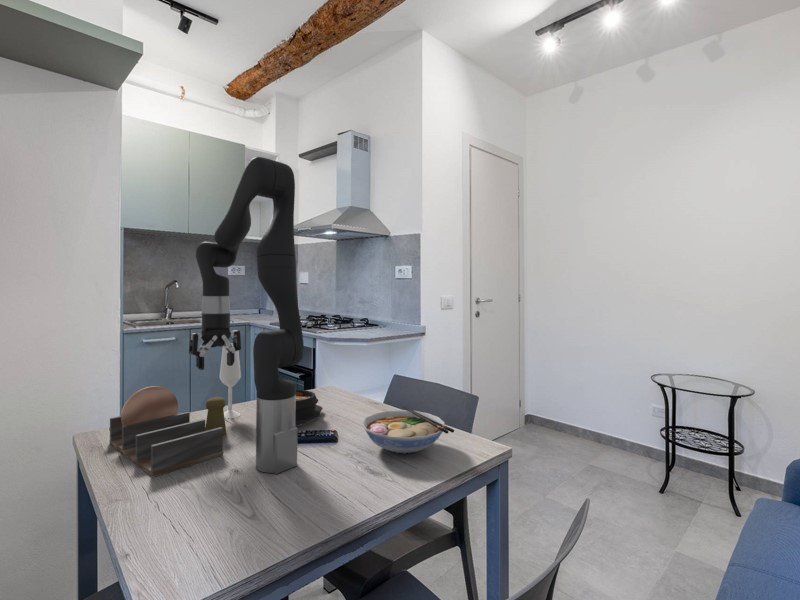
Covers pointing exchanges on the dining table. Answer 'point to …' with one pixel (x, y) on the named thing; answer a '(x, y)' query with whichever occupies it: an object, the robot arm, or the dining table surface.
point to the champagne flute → (230, 379)
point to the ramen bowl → (404, 430)
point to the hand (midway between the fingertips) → (215, 367)
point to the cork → (215, 414)
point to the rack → (162, 433)
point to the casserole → (306, 407)
